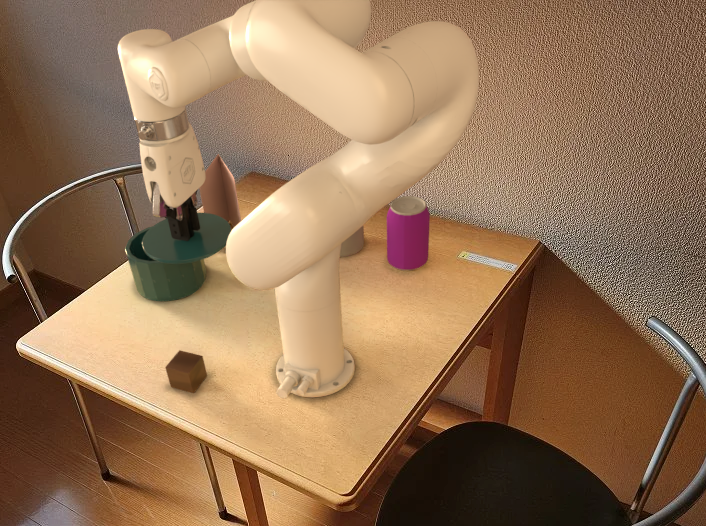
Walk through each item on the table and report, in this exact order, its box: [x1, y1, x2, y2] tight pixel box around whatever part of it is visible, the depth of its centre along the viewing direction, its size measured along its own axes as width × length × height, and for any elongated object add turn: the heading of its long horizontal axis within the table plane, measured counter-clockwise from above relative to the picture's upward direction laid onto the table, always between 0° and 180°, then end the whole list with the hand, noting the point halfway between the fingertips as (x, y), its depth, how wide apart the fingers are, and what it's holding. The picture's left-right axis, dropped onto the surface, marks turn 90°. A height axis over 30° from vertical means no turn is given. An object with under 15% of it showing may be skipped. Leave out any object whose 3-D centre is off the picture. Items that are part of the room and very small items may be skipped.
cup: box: [340, 225, 365, 257], centre depth 141 cm, size 8×8×10 cm
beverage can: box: [386, 195, 431, 272], centre depth 134 cm, size 8×8×12 cm
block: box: [165, 349, 208, 394], centre depth 118 cm, size 4×4×4 cm
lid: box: [142, 202, 232, 264], centre depth 118 cm, size 15×15×7 cm
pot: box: [124, 225, 207, 302], centre depth 139 cm, size 14×14×8 cm
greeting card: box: [198, 153, 242, 228], centre depth 146 cm, size 11×7×15 cm, turn 164°
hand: (186, 233), depth 119 cm, fingers closed on lid, 2 cm apart
